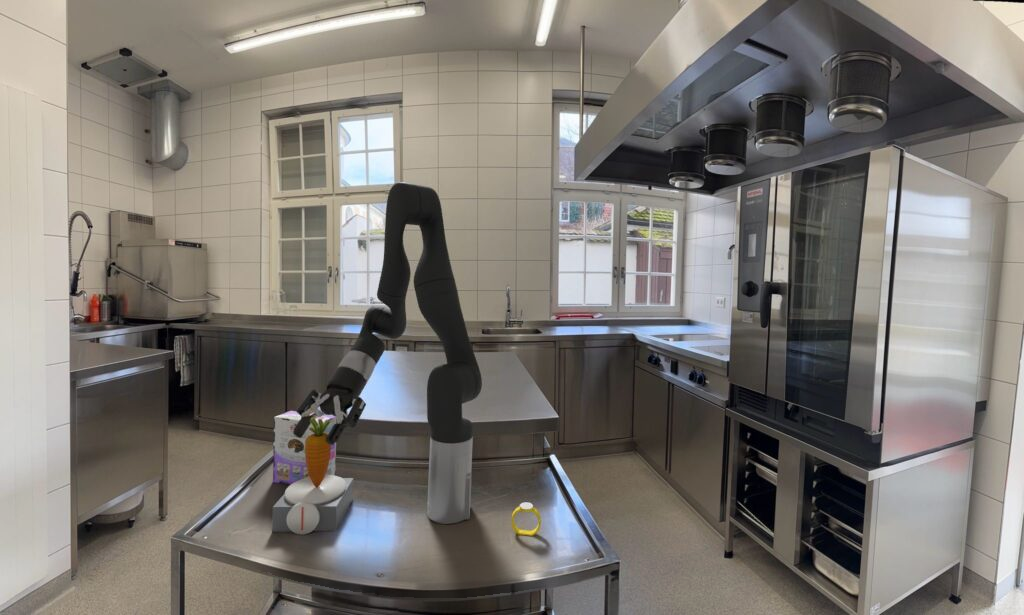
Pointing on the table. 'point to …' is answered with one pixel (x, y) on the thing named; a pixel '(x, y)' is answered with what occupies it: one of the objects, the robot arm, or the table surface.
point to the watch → (526, 508)
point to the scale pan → (315, 490)
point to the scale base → (311, 513)
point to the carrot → (317, 452)
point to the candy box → (295, 448)
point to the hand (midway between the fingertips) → (312, 439)
